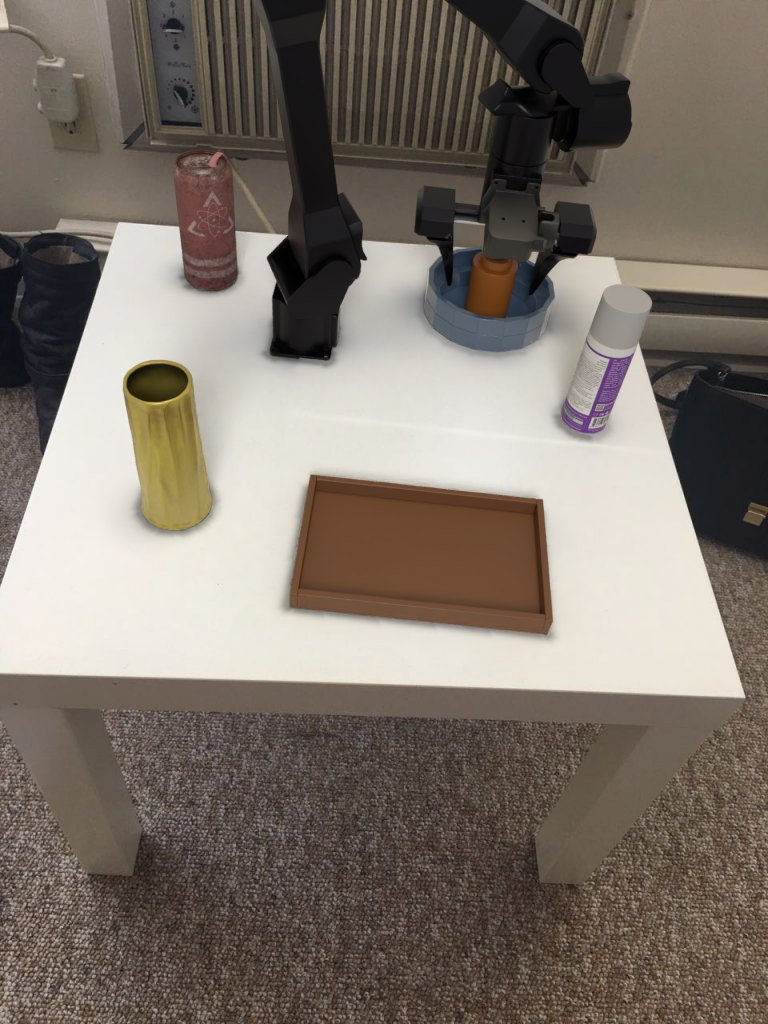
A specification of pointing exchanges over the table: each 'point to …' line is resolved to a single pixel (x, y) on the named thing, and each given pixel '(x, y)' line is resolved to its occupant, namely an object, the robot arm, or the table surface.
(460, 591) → the tray
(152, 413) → the vase
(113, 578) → the table surface
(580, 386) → the container
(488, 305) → the bottle
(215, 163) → the can
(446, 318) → the bowl
